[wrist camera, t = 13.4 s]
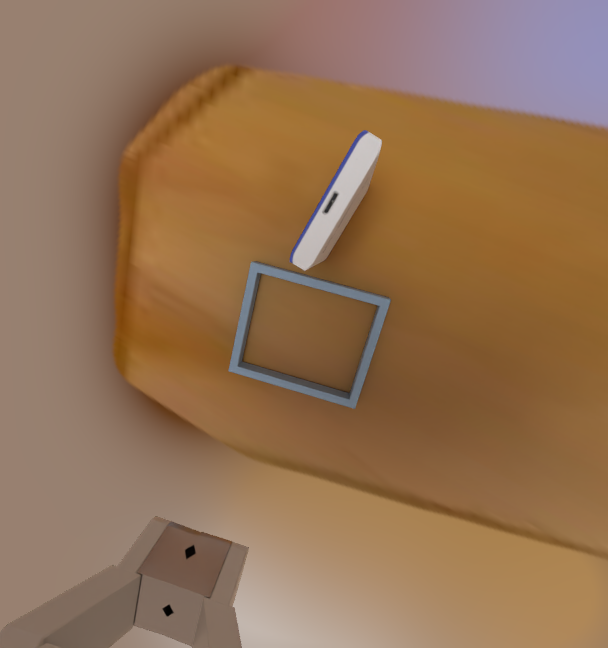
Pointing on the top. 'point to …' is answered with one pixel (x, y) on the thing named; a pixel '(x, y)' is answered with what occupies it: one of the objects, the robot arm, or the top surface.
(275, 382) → the frame
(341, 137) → the top surface
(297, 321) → the top surface
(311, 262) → the hard drive
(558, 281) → the top surface
